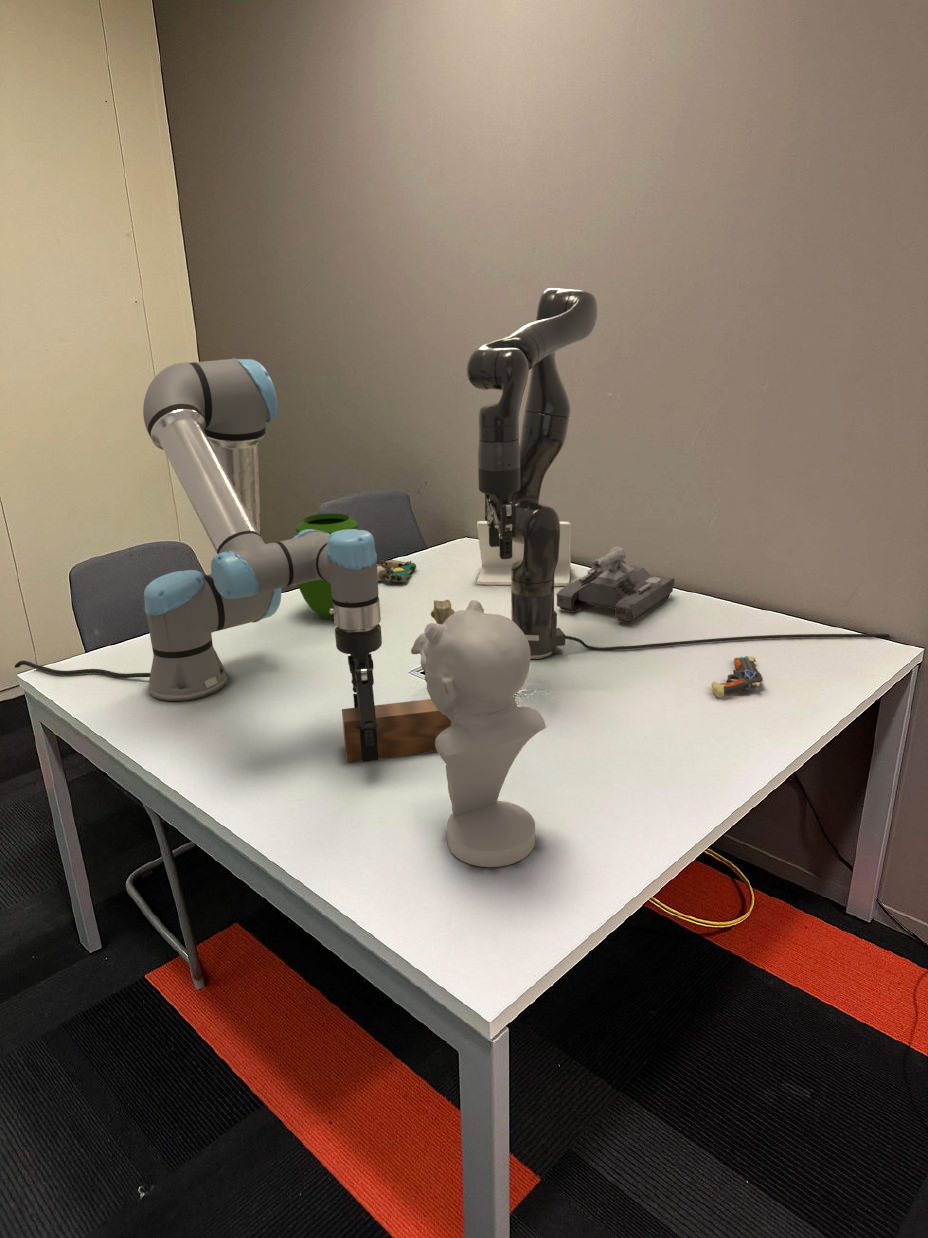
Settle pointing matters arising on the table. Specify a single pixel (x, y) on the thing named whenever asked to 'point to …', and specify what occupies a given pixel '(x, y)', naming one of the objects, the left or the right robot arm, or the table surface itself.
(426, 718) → the bar
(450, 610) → the sculpture
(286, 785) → the table surface
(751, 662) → the toy gun
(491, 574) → the tablet stand
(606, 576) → the toy
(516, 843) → the bust sculpture
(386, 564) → the spray gun
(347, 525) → the vase
